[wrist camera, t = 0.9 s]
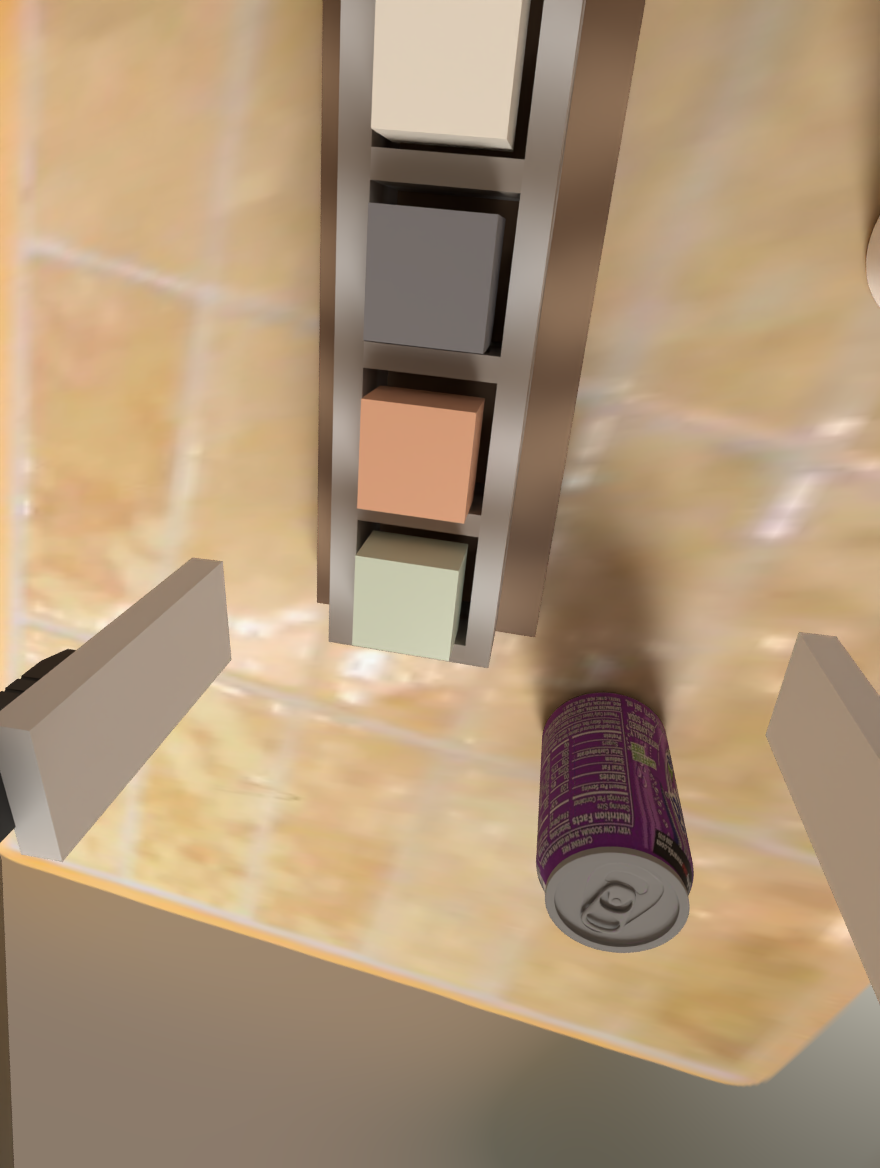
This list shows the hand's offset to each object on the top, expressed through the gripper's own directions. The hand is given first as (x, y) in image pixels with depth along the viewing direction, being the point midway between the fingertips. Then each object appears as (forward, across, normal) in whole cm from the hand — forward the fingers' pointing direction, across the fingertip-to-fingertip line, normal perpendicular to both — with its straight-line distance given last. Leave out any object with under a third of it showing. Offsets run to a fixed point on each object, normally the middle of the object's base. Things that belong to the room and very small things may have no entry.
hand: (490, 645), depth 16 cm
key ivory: (+15, -4, +14) cm, 20 cm away
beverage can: (+21, +6, -17) cm, 27 cm away
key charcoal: (+15, -4, +7) cm, 17 cm away
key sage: (+15, -4, -6) cm, 16 cm away
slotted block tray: (+20, -4, +4) cm, 21 cm away
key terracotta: (+15, -4, +1) cm, 15 cm away
